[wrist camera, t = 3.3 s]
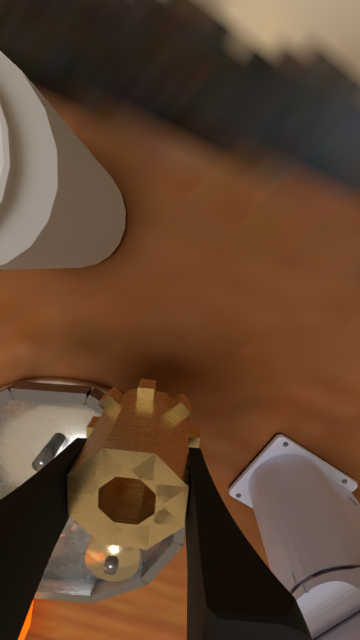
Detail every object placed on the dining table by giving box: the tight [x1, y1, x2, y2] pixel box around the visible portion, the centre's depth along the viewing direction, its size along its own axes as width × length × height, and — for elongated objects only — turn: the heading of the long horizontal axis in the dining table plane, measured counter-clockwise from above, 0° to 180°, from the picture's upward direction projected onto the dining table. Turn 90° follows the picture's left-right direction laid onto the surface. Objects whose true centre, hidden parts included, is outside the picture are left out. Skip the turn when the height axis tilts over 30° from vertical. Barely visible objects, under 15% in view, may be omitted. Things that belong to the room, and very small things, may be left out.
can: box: [0, 51, 126, 270], centre depth 12 cm, size 8×8×12 cm
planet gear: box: [67, 379, 200, 549], centre depth 12 cm, size 6×6×5 cm
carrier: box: [0, 377, 185, 603], centre depth 22 cm, size 24×24×4 cm
